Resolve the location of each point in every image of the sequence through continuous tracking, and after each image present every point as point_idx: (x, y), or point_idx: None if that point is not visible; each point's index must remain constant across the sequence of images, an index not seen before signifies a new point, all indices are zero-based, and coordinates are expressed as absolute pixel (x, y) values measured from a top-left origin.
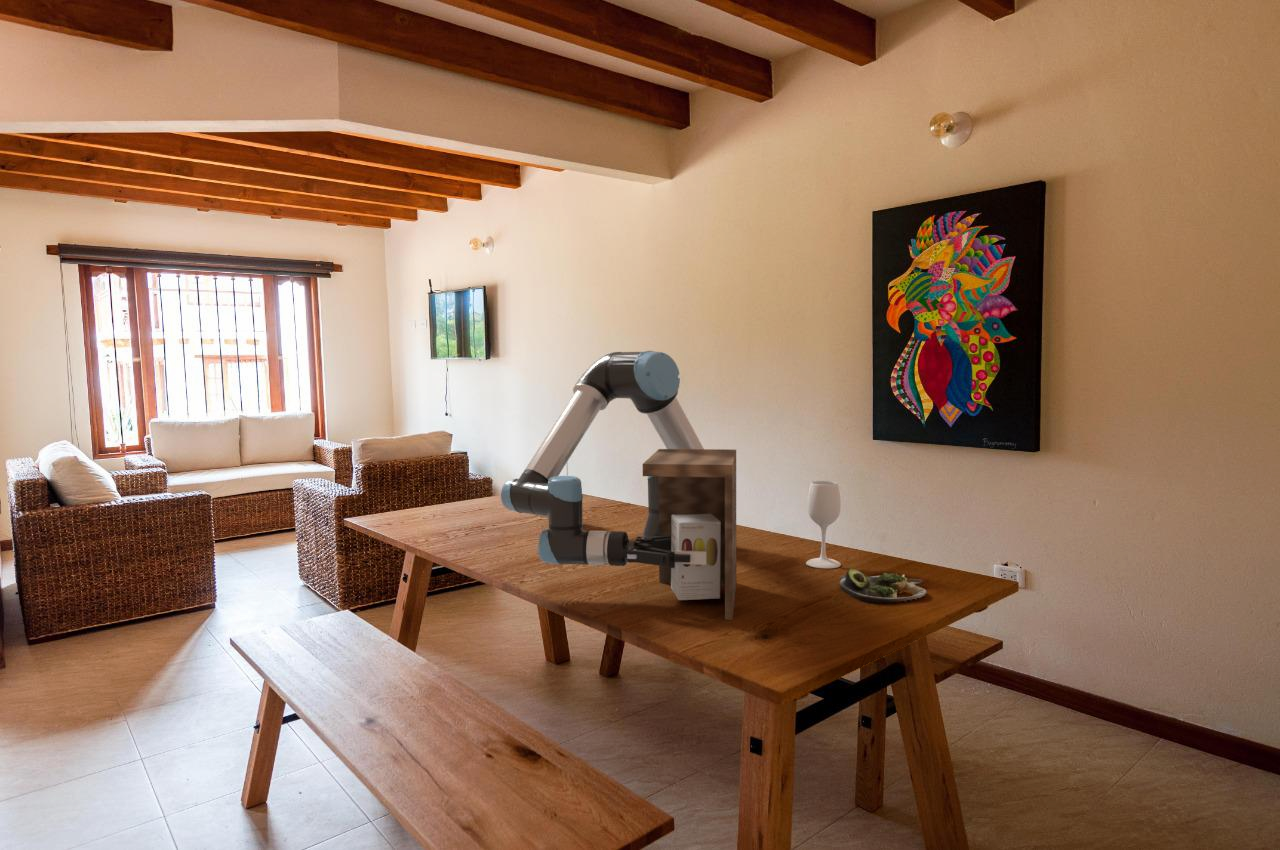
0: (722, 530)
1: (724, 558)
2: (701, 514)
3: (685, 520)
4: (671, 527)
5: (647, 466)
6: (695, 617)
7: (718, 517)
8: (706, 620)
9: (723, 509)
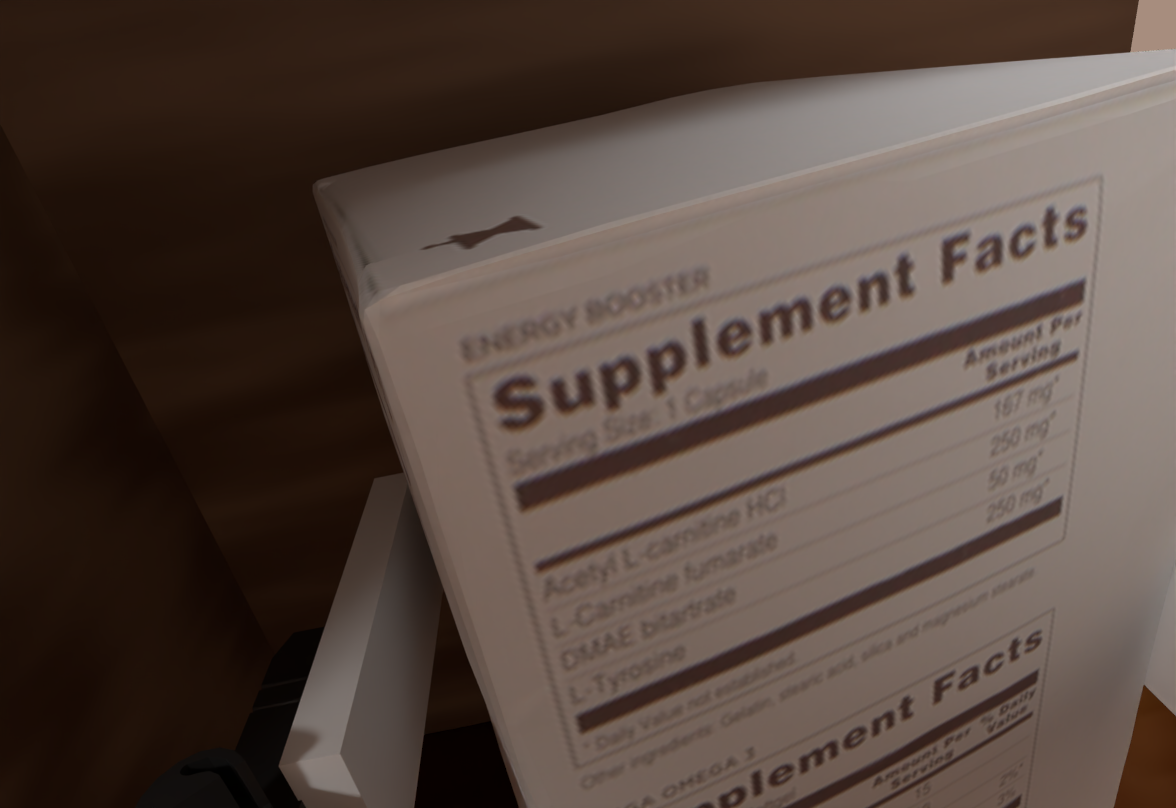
0: (124, 457)
1: (242, 647)
2: (386, 175)
3: (1010, 71)
4: (502, 638)
5: None
6: (1166, 779)
7: (29, 353)
8: (1150, 694)
9: (14, 247)
